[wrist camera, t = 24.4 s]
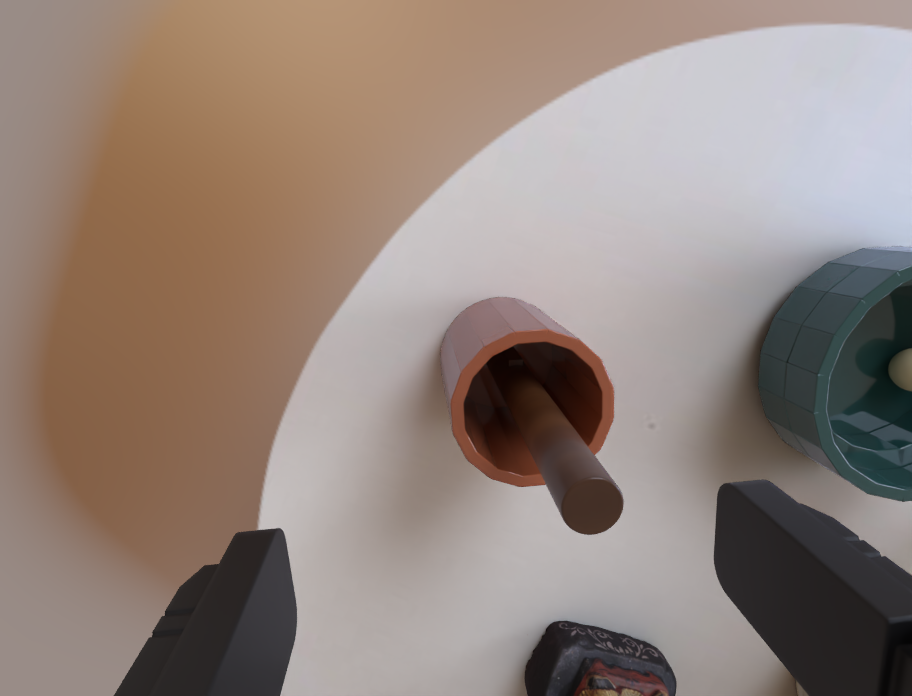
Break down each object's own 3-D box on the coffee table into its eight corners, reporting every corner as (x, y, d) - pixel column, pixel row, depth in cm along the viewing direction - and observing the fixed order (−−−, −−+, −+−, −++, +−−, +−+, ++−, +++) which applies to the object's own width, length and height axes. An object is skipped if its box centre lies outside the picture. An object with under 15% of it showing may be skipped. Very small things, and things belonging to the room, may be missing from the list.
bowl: (759, 254, 35) (828, 262, 29) (976, 238, 36) (1086, 243, 30) (744, 466, 38) (803, 512, 33) (942, 448, 39) (1034, 488, 33)
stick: (485, 339, 34) (561, 471, 17) (517, 338, 34) (626, 466, 17) (486, 380, 35) (560, 546, 17) (517, 378, 35) (623, 541, 18)
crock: (436, 301, 34) (445, 336, 24) (558, 292, 34) (615, 323, 25) (444, 417, 36) (456, 493, 26) (559, 407, 36) (614, 478, 27)
